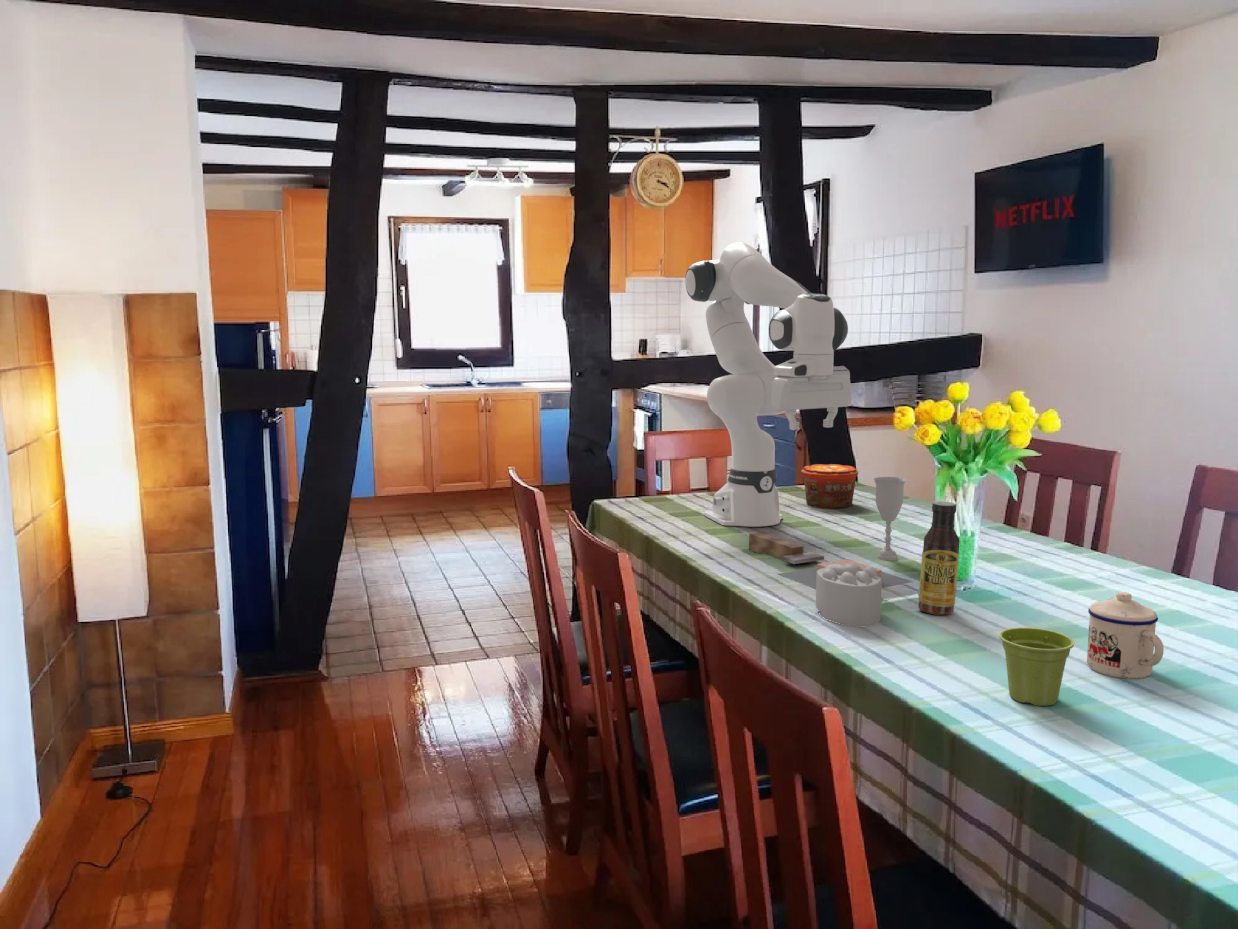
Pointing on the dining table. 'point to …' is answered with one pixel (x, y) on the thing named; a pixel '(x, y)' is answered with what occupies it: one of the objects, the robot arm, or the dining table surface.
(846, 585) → the lumpy-topped squat cylinder
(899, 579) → the mat
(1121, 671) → the teacup with lid
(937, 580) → the sauce bottle
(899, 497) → the chalice
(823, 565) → the tile
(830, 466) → the food container
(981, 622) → the dining table surface
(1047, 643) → the plant pot
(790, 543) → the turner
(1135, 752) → the dining table surface
